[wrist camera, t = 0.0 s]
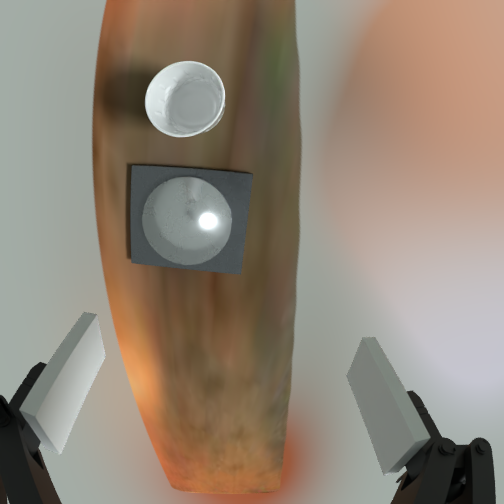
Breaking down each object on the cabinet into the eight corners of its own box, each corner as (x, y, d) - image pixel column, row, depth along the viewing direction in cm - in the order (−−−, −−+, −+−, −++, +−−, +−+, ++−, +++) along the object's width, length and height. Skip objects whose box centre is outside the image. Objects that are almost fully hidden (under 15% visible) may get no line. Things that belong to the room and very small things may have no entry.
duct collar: (134, 164, 36) (129, 166, 35) (252, 173, 38) (253, 175, 36) (133, 260, 42) (129, 265, 40) (240, 271, 43) (240, 276, 41)
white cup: (160, 92, 33) (135, 79, 24) (218, 71, 32) (211, 50, 23) (178, 145, 36) (158, 148, 27) (236, 126, 35) (235, 121, 26)
